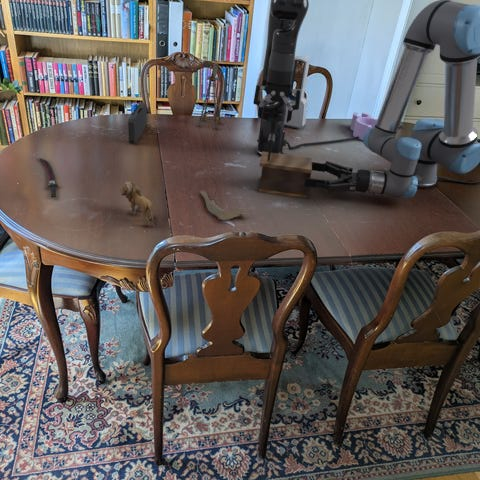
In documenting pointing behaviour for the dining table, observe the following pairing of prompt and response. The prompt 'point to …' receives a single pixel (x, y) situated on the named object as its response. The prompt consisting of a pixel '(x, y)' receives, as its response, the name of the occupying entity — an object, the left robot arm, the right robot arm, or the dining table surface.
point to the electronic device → (300, 114)
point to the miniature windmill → (212, 79)
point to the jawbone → (218, 211)
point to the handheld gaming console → (137, 122)
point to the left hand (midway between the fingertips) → (274, 119)
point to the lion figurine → (137, 201)
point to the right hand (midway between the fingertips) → (304, 173)
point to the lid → (284, 160)
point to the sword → (52, 181)
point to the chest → (284, 182)
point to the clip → (361, 124)
